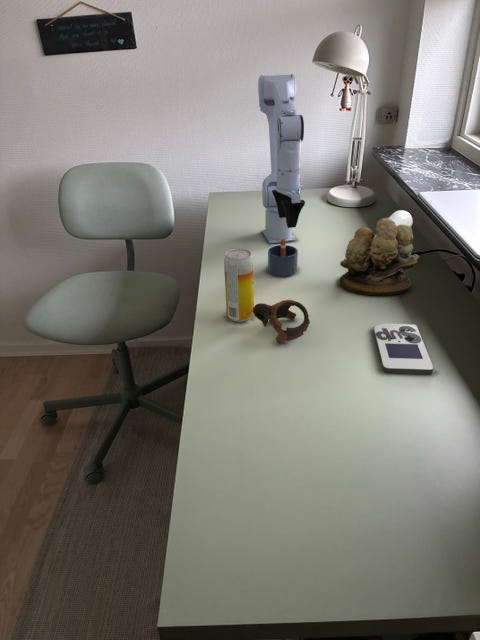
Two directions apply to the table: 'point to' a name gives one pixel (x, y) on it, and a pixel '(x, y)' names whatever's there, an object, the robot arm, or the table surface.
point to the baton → (283, 247)
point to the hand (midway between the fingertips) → (287, 222)
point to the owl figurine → (379, 260)
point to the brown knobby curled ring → (282, 311)
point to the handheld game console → (402, 349)
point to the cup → (282, 261)
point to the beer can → (239, 284)
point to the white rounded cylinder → (401, 218)
